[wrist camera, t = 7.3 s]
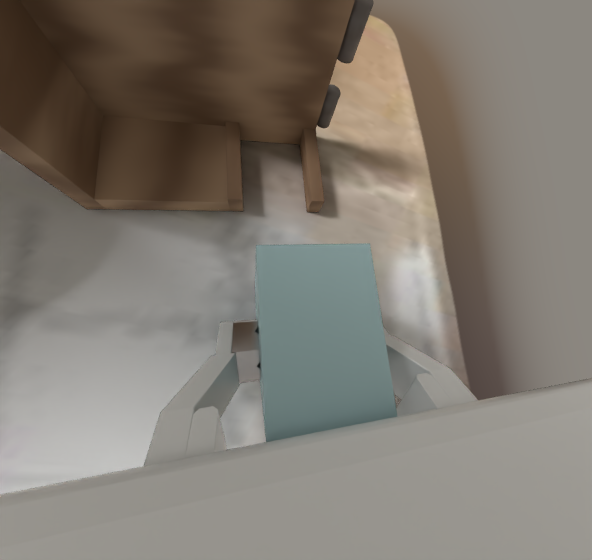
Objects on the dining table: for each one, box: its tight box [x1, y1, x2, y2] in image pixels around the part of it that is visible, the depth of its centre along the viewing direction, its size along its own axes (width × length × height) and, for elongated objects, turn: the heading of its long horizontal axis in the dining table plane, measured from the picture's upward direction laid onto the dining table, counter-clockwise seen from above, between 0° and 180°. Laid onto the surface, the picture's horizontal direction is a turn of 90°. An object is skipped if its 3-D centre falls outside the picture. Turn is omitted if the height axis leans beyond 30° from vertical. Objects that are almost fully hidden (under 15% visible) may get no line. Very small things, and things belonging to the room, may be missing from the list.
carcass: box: [0, 0, 373, 212], centre depth 12 cm, size 18×8×10 cm, turn 95°
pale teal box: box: [255, 244, 397, 442], centre depth 10 cm, size 5×5×9 cm
